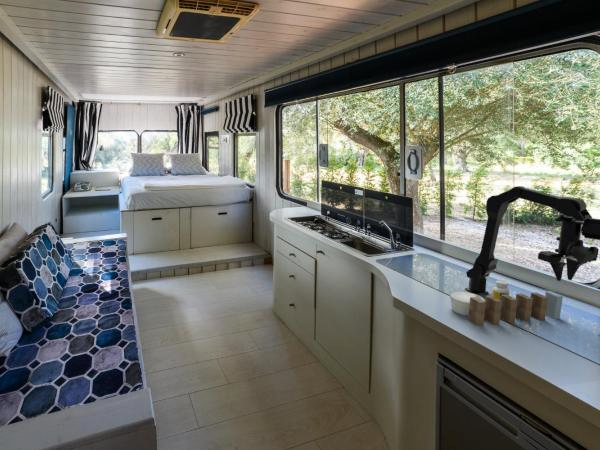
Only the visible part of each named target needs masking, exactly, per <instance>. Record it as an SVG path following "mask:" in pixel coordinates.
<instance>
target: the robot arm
mask: <svg viewBox="0 0 600 450" xmlns="http://www.w3.org/2000/svg"><path fill="white" fill-rule="evenodd" d="M519 199H522V200H525V201H529V202H532V203H535V204H538V205H542V206H544V207H545V206H546V207H547V208H548V207H549V208H551V209H553V210H554V211H556V212H557V213H559V214H560V215H559V216H558V217H556V218H554V221H555V222H560V223H561V225H560V232H559V236H558V237H556V239H555V240H556V241H558V248H555V249H554V251H550V250H543V251H542V250H541V251H540V252H538V254H537V260H540V261H543V262H547V263H549V264H550V266H551V269H552V271H553V273H554V276H555V277H556V281H558V282H561V280H562V277H563V272H564V267H565V266H566V274H567V275H566V276H567V280H568V281H572V280H573V279H574V277H575V276H576V273H577V271H578V270H579V269H580V267H581V266H583V265H584V264H585V265H586V264H587V263H592V262H597V259H598V255H599V248H598V246H590V247H588V246H585V245H584V241H583V240H584V239H590V240H596V241H600V218H593V217H592V215H591V214H590V212H589V211H588V209H587V204H586V202H585V200H584V199H582V198H577V197H568V196H557V195H553V194H549V193H546V192H542V191H538V190H535V189H530V188H527V187H525V186H522V185H521V186H520V185H519V186H517V185H516V186H514V187H511V189H509V190H506V191H504V192H502V193H500V194H497V195H491V196H490V197H488V198H487V199H486V202H485V204H486V207H485V211H486V215H487V220H486V225H485V230H484V233H483V235H484V236H483V239H482V240H483V241H482V245H481V248H480V253H479V254H478V255H477V256H476V259H475V260H474V263H473V265H472V267H471V268H470V269H469V270H467V271H466V273H465V274H466V277H467V278H469V280H468V287H465V288H464V290H466V291H468V293H473V294H476V295H484V294H489V291H487V290H486V289H487V277H489V276H490V275H491V273H493V272H494V271H495V269H498V268H497V264H498V262H499V259H498V258H495V254H494V253H495V249H496V244H497V240H498V235H499V231H500V226H501V221H502V219H503V217H504V216H505V214H506V212H507V211H508V208H509V206H510V204H512V203H514V202H515V201H517V200H519ZM581 235H582V236H584V239H581Z"/></svg>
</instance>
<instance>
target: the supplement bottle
mask: <svg viewBox="0 0 600 450" xmlns="http://www.w3.org/2000/svg"><path fill="white" fill-rule="evenodd" d="M508 287H509V282H508V281H507V280H506V281H505V280H502V279H501V280H500V279H499V280H495V286H493V288H492V293H491V294H492V295H491V296H493V297H495V298H497V299H499V300H501V295H509V296H510V289H509V288H508Z"/></svg>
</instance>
